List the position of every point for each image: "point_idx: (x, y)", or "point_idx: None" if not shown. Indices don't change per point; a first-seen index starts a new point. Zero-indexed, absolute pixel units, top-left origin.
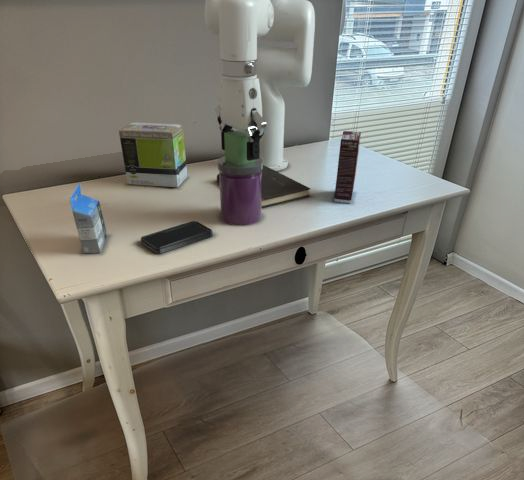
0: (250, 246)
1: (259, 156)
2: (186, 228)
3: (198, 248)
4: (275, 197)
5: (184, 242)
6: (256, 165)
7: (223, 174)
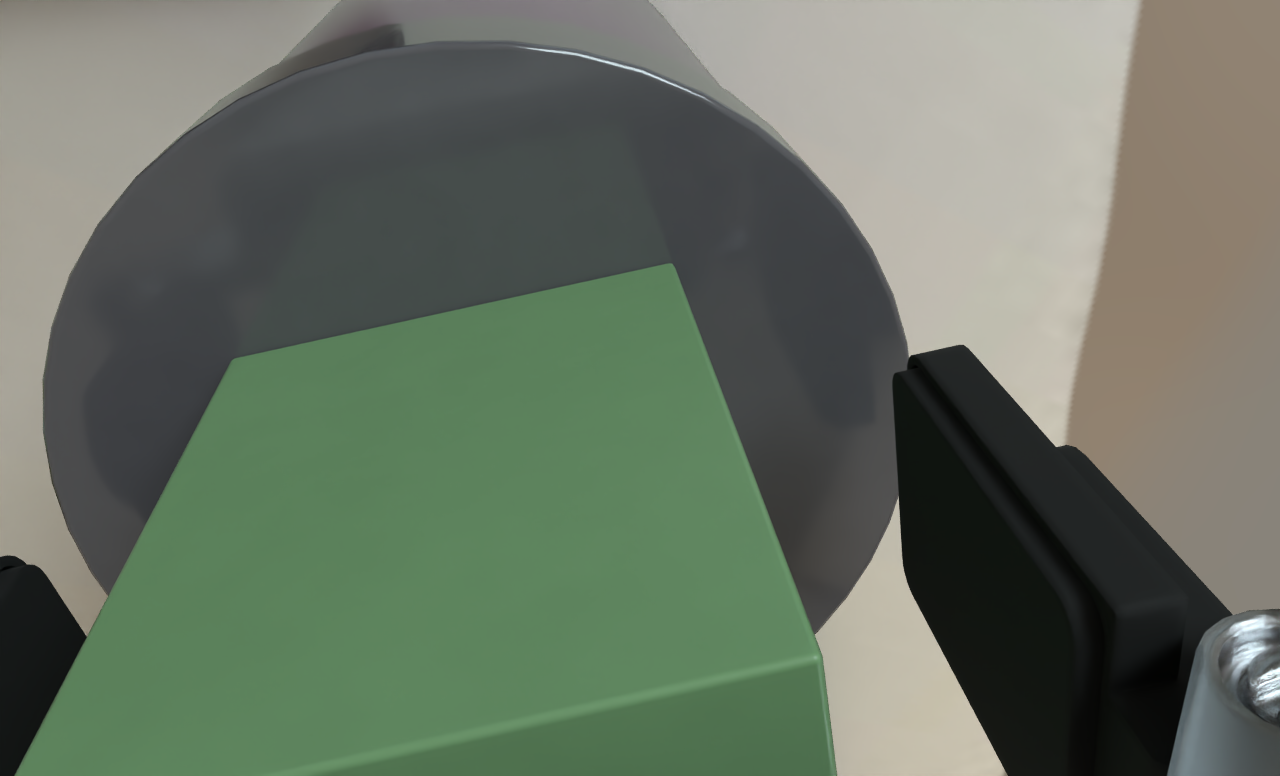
0: (1064, 320)
1: (974, 355)
2: None
3: (876, 613)
4: None
5: None
6: (889, 332)
7: None
